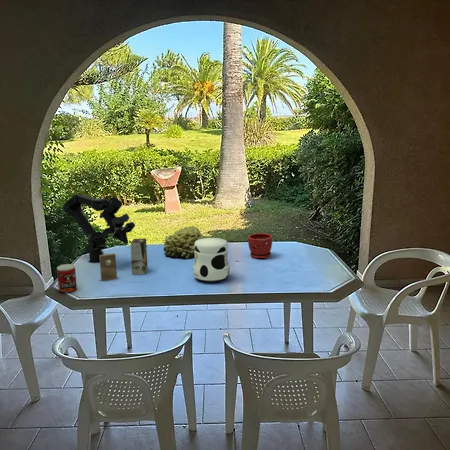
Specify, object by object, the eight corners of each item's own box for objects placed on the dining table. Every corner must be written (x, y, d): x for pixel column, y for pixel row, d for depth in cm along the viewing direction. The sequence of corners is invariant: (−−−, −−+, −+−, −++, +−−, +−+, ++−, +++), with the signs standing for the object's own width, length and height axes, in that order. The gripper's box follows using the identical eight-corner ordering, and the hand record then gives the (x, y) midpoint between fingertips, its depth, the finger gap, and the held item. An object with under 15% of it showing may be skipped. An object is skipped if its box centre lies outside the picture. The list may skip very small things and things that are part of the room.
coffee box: (144, 274, 221) (143, 242, 217) (131, 274, 221) (129, 242, 218) (148, 268, 230) (146, 238, 226) (135, 268, 230) (133, 238, 227)
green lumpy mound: (202, 261, 242) (201, 232, 239) (159, 259, 247) (157, 231, 243) (211, 248, 266) (211, 222, 263) (172, 246, 271) (171, 221, 267)
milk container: (188, 275, 219) (187, 239, 215) (221, 270, 226) (220, 235, 222) (200, 286, 204) (199, 248, 200) (235, 281, 210) (235, 244, 206)
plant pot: (256, 252, 257) (256, 231, 254) (276, 255, 249) (276, 234, 247) (243, 257, 247) (243, 236, 244) (264, 261, 239) (264, 240, 236)
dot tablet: (101, 279, 215) (99, 255, 212) (115, 277, 218) (114, 253, 215) (102, 281, 212) (100, 256, 210) (117, 278, 215) (115, 254, 213)
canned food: (60, 294, 196) (57, 270, 194) (57, 288, 203) (55, 265, 201) (78, 291, 200) (76, 267, 197) (75, 285, 207) (73, 263, 204)
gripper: (103, 212, 219) (120, 237, 215) (131, 206, 234) (148, 230, 230) (94, 226, 225) (110, 251, 221) (122, 219, 240) (138, 242, 236)
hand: (127, 243), depth 227 cm, fingers closed
